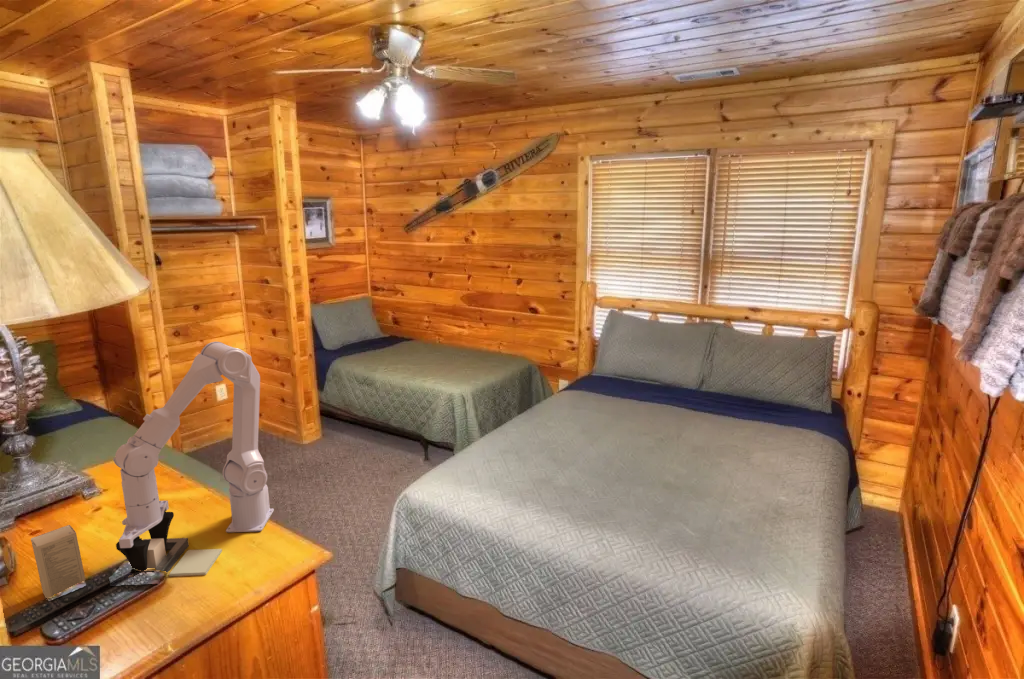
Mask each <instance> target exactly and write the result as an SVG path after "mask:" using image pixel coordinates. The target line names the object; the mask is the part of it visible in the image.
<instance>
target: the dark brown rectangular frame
mask: <svg viewBox="0 0 1024 679" xmlns="http://www.w3.org/2000/svg"><path fill="white" fill-rule="evenodd" d="M189 544H190V543H189V538H188V537H177V538H176V537H172V538H167V543H166V547H165V551H166V552H167V551H168V553H166V556H165V557H164V559H163V560H162V561H161V562H160V563H159V565H158V566H157V567H156V568H155V569H156V570H161V571H166V572H168V571H170V570H171V569H173V567H174V566H175V564H177V562H178V560H180V559H181V556H182V555H183V554H185V553H184V552H185V551H187V550H188V548H189V547H190V546H189ZM124 561H128V559H127V558H125V559H124ZM134 572H135V573H134V574H132V575H129V576H128V578H130V577H134V576H135V575H137V574H139V573H141V572H136V571H134ZM168 573H169V572H168Z"/></svg>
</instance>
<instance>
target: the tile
mask: <svg viewBox="0 0 1024 679" xmlns="http://www.w3.org/2000/svg"><path fill="white" fill-rule="evenodd" d="M222 552H223V548H211V549H209V548H208V549H207V548H206V549H187V550H186V552H185V553H183V554H184V555H183V556H182V557H180V559H179V561H177V562H176V565H174V566H173V567H172V570H171V571H170V572H169V573H168V575H169V577H185V576H186V577H187V576H190V577H191V576H205V575H207V574H208V572H209V571H210V569H211V568H212V566H213V565H214V563H215V562H216V561H217V559H218V558H219V557H220V555H221V553H222Z"/></svg>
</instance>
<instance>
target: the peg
mask: <svg viewBox="0 0 1024 679" xmlns="http://www.w3.org/2000/svg"><path fill="white" fill-rule="evenodd" d="M142 540H151V541H150V543H149V546H148V551H147V568H156V567H157V566H158V565H159V563H160V562H161V561H162V560H163V559H164V557H165V556H166V555H167V553H166V552H167V551H165V544H164V538H160V539H151V538H143V539H142Z"/></svg>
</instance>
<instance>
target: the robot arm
mask: <svg viewBox="0 0 1024 679" xmlns="http://www.w3.org/2000/svg"><path fill="white" fill-rule="evenodd" d="M252 359H253V358H252V356H251V355H250V354H248V353H247V352H246V351H244V350H242V349H240V348H237V347H233V346H230V345H227V344H225V343H223V342H222V341H211V342H209V343H206V345H204V347H203V348H202V349H201V351H200V353H198V354H197V355H196V356H195V357H194V359H193V360H192V363H191V365H190V368H189V370H188V371H187V373H186V374H185V375H184V377H183V378H182V380H181V381H180V383H179V384H178V385H177V387H176V389H175V390H174V391H173V393H172V394H171V396H170V397H169V399H168V400H167V401H166V402H165V404H164V405H163V407H160V408H157V409H153V410H152V411H151V413H150V414H149V413H146V414H145V416H144V417H143V418H142V420H143V421H144V422H143V423H142V424H141V425H140V427H139V428H138V429H137V430H136V432H135V433H134V434H133V435H132V436H129V438H128V439H127V442H126V443H125V444H124V443H123V444H122V445H121V446H119V447H118V448H117V450H116V451H115V455H114V457H113V459H112V461H113V462H114V464H115V465H116V466H117V467H118V468H120V478H121V487H122V495H123V501H124V505H125V506H124V507H125V514H126V517H125V518H124V519H123V520H122V521H121V524H122V526H124V530H123V532H122V535H121V536H120V538H119V539H118V541H117V542H116V543H115V548H116V550H117V551H119V552H120V553H121V554H122V555H123V556H124V557H125V559H128V561H129V562H130V564H131V566H132V568H135V569H138V570H141V571H144V570H146V569H147V551H148V546H149V543H150V541H151V540H143V539H142V537H140V536H141V535H143V534H145V533H146V532H147V531H148V533H149V536H150V539H160V538H164V544H165V547H166V543H167V539H168V537H169V535H168V534H169V529H170V526H171V524H172V520H173V519H174V516H175V515H174V514H175V513H174V512H173V511H168V510H169V500H160V497H159V491H158V489H159V488H158V484H157V476H156V472H155V468H156V467H157V466H158V463H159V454H160V453H161V451H162V449H163V448H164V447H165V445H166V444H167V443H168V441H169V440H170V439H171V437H172V436H173V435H174V433H175V432H176V431H177V430H178V428H179V427H180V425H181V420H180V416H181V415H182V413H184V411H185V410H186V409H187V407H188V406H189V405H190V404H191V403H192V402H193V401H194V399H195V398H196V397H197V396H198V394H199V393H200V392H201V391H202V389H204V387H205V386H207V385H210V384H214V383H219V382H222V381H224V378H223V377H225V378H226V379H227V380H229V381H230V382H231V383H233V399H232V400H233V402H232V403H233V406H232V407H233V408H232V409H233V410H232V438H231V440H232V445H231V446H232V448H231V450H230V451H229V452H228V453H227V455H226V462H225V464H224V466H223V468H222V477H223V479H224V480H225V481H226V482H228V485H229V488H228V492H229V500H230V501H229V503H230V511H231V523H229V525H228V526H227V528H226V529H225V532H226V533H244V532H245V533H246V532H249V533H250V532H253V533H254V532H261V531H263V530H264V528H265V526H266V524H267V523H268V521H269V520H270V518H271V516H272V514H273V513H274V511H275V509H274V508H271V507H270V497H269V496H270V495H269V488H268V485H267V482H268V473H267V471H266V469H265V461H264V459H263V457H262V455H261V453H260V450H259V431H260V430H259V427H260V426H259V424H260V394H261V375H260V373H259V371H258V370H257V367H256V365H255V364H254V363H253V361H252ZM222 376H223V377H222Z"/></svg>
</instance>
